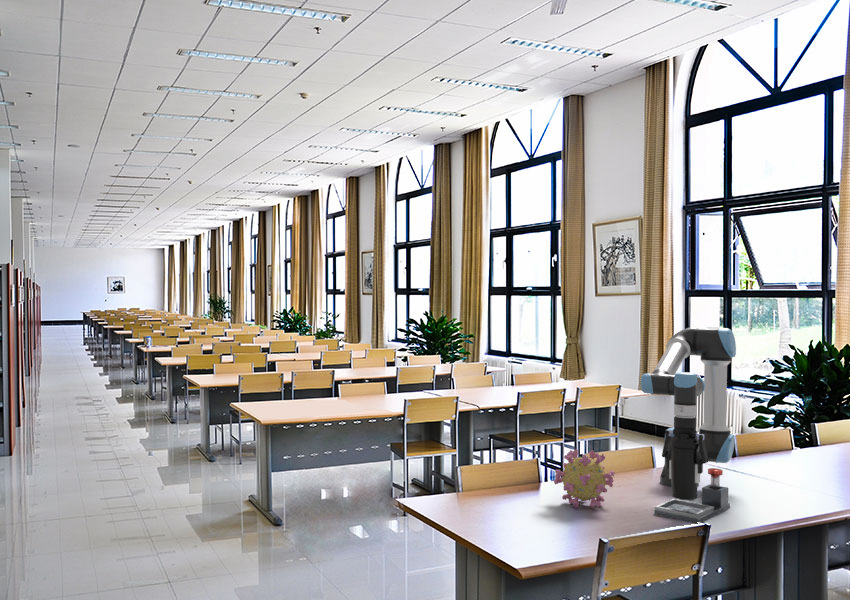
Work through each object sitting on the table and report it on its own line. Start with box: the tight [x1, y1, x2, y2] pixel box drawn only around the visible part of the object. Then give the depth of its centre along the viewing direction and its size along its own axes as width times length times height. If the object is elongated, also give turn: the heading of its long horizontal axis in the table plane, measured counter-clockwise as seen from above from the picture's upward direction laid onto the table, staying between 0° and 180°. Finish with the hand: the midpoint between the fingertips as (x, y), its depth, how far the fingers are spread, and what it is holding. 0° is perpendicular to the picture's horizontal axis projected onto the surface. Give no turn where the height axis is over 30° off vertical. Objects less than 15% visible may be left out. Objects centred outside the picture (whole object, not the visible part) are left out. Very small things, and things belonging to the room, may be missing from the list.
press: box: [653, 483, 731, 524], centre depth 275 cm, size 16×28×8 cm, turn 138°
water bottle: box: [670, 433, 700, 500], centre depth 271 cm, size 10×10×23 cm
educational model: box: [552, 448, 616, 509], centre depth 281 cm, size 23×22×20 cm
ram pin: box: [707, 467, 724, 490], centre depth 279 cm, size 5×5×8 cm
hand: (684, 480), depth 271 cm, fingers closed on water bottle, 9 cm apart
